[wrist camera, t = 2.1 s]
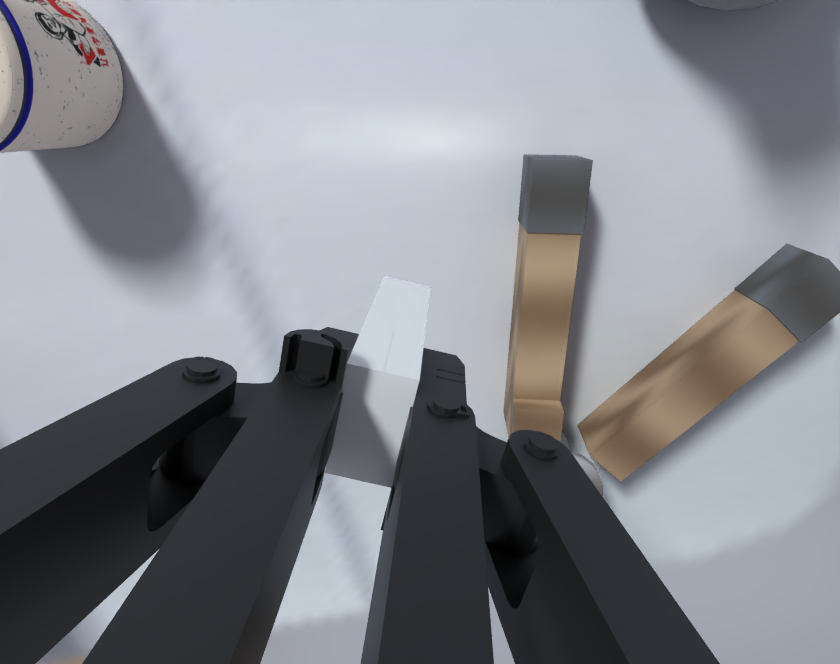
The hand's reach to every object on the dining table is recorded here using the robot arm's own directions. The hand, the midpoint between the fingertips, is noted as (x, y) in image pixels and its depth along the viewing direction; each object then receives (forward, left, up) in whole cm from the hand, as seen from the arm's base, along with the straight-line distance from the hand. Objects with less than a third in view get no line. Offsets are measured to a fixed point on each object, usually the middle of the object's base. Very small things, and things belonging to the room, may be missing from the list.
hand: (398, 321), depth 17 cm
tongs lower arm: (+3, -19, -19) cm, 27 cm away
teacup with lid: (-8, +24, -19) cm, 32 cm away
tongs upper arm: (0, -12, -19) cm, 22 cm away
